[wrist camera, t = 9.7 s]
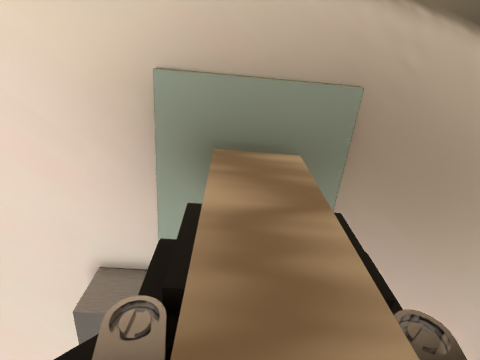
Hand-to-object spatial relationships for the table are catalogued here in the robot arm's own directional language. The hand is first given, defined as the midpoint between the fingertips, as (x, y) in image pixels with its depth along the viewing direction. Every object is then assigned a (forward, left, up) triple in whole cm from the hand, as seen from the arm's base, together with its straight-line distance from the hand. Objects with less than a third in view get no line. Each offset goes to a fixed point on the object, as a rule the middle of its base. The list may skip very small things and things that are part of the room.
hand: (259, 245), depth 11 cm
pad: (0, 0, -7) cm, 7 cm away
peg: (0, 0, -4) cm, 4 cm away
